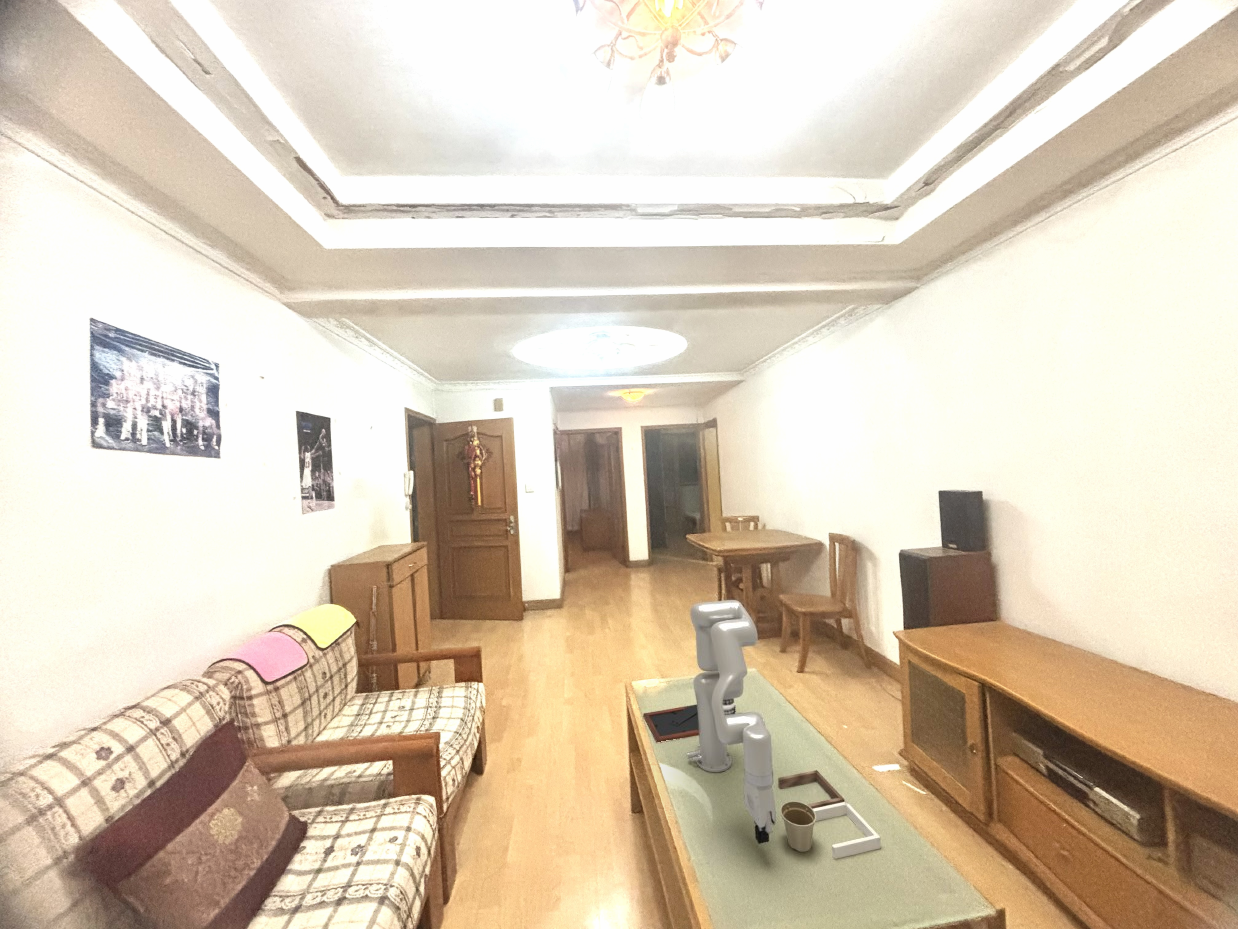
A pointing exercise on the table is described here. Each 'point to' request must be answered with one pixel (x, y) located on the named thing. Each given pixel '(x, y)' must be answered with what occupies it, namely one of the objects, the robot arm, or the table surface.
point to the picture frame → (673, 723)
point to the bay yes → (844, 808)
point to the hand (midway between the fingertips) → (762, 840)
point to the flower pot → (798, 824)
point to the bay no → (809, 778)
